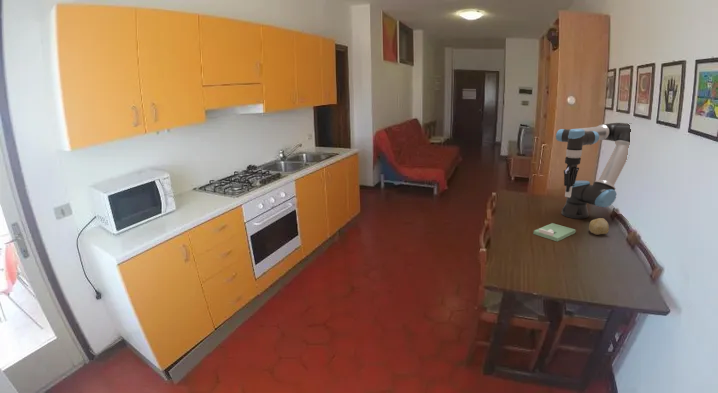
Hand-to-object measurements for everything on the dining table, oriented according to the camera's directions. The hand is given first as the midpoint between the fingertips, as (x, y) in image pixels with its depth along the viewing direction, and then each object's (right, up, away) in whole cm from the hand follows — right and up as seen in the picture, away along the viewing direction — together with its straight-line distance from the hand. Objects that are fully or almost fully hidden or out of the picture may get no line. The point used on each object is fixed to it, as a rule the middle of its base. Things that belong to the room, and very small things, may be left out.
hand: (567, 196), depth 211 cm
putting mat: (-8, -21, +1) cm, 23 cm away
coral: (+16, -22, -2) cm, 27 cm away
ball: (-11, -21, -2) cm, 24 cm away
